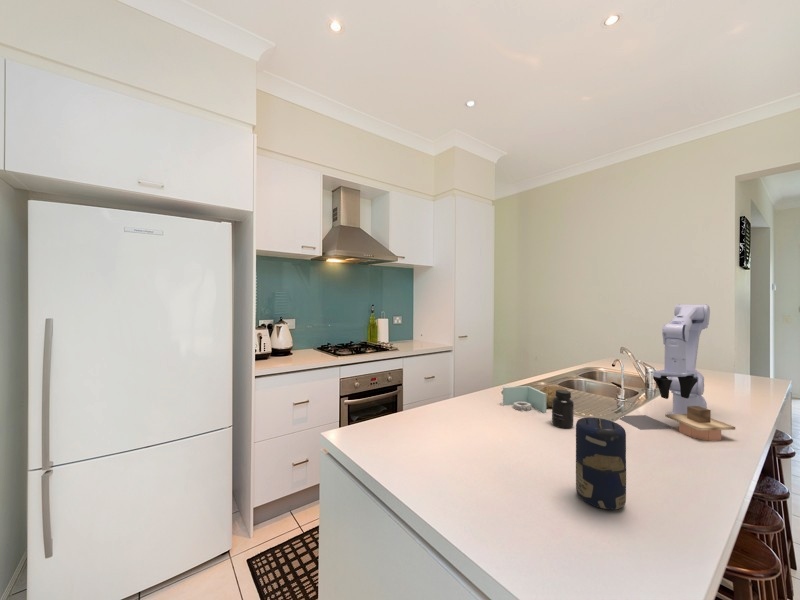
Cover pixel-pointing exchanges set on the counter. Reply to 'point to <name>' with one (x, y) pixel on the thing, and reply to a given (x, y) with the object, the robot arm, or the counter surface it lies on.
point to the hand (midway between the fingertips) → (674, 397)
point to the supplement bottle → (562, 410)
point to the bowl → (700, 433)
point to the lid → (699, 419)
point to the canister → (601, 462)
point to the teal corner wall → (524, 398)
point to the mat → (645, 422)
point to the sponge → (550, 394)
